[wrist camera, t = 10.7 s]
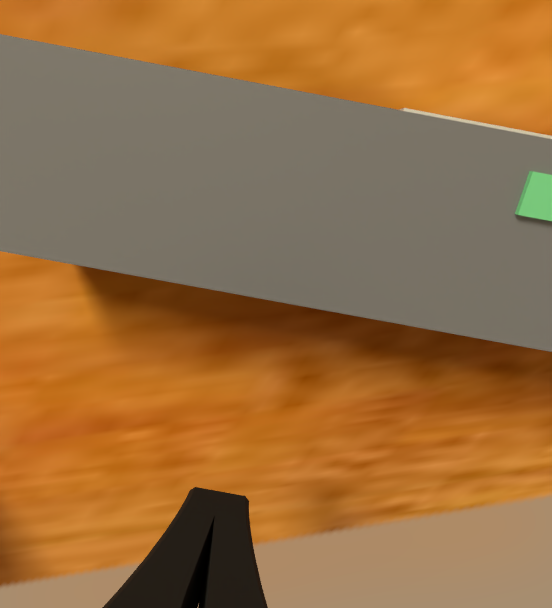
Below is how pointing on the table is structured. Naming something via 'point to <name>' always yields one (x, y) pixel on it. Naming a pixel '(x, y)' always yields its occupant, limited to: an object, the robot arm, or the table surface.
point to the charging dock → (275, 193)
